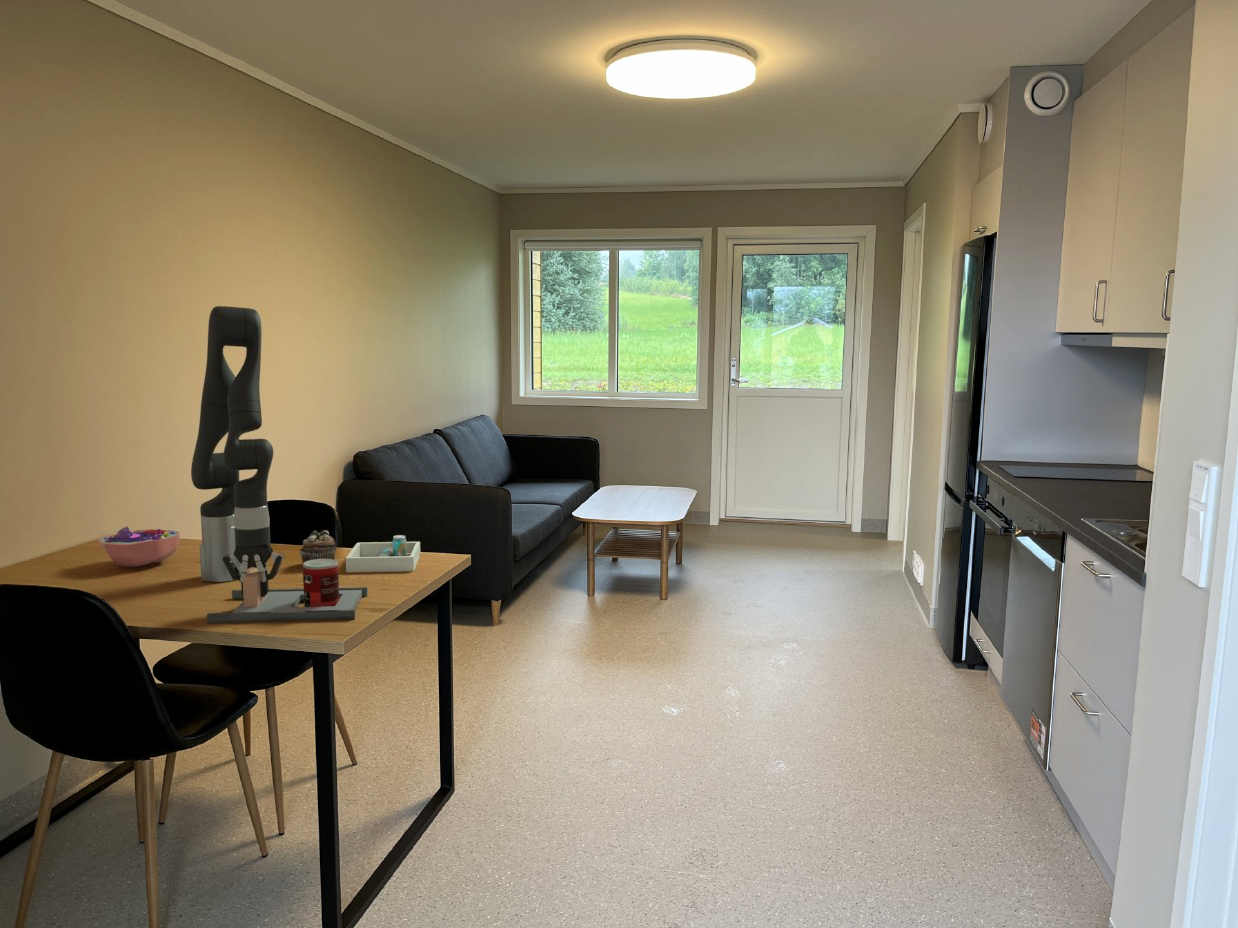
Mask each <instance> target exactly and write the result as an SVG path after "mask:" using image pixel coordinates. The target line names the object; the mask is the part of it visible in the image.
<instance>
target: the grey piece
mask: <svg viewBox="0 0 1238 928" xmlns="http://www.w3.org/2000/svg"><path fill="white" fill-rule="evenodd" d="M260 582H261V578H260V574H259V573H258V569H257V568H254V567H252V568H251V569H250V572H248V573H247V574H246V575H245V576H244V577H243V596H244V599H243V601H242V602H241V603H240V604H239V605H237V607H236V608H235V609H234V610H233V611H232V612H231V613H234V612H275V611H317V610H356V608H357V605H358V604H359V602H360V600H361V599H362V597H363V596H362V590H339V601H338V602H337V604H336V606H326V607H305V606H298V605H299V603H300V602H302V601H303V602H304V591H282V592H268V594H267V595H266V596H265V597H261V590H260Z"/></svg>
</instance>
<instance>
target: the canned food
mask: <svg viewBox="0 0 1238 928" xmlns="http://www.w3.org/2000/svg"><path fill="white" fill-rule="evenodd" d="M339 577H340V576H339V561H338V560H336V559H334V560H333V559H314V560H309V561H306V562H304V563H303V562H302V581H303V583H302V584H303V589H304V601H303V603H304V606H303V607H326V606H336V604H337V602H338V601H339V588H340V587H339V586H340V582H339V579H340V578H339Z"/></svg>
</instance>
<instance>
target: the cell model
mask: <svg viewBox="0 0 1238 928" xmlns="http://www.w3.org/2000/svg"><path fill="white" fill-rule="evenodd" d="M180 536H181V532H180V531H176V530H166V529H161V528H157V529H152V528H151V529H138V530H132V531H130V528H129V526H124V527H122V528H121V529H119V530H118V531H117V532H116V533H115V534H111V535H107V536H104V537H102V538H99V539H98V543H99V544H100V545H101V546H102V548H103V550H104V551H105V553H106V554H107V556H108V557H109V558H110V559H111V560H112V562H113V563H114V564H116V565H117V566H121V567H125V568H126V567H127V568H138V567H142V566H145V565H148V564H157V563H161V562H165V560H168V559H169V558H170V557H171V556H172V555H174V553H175V552H176V551H177V549H178V548H179V542H180V538H181V537H180Z"/></svg>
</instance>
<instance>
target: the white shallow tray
mask: <svg viewBox="0 0 1238 928" xmlns="http://www.w3.org/2000/svg"><path fill="white" fill-rule="evenodd" d="M386 547H391V548H393V541H386V542H385V541H383V542H382V541H381V542H378V541H374V542H372V541H371V542H357V543H356V544H355V545H354V546H353V547H352V549H351V551H350V552H349V553H348V554H347V556H346V557H345V573H385V572H387V573H389V572H390V573H391V572H393V573H394V572H397V573H398V572H414V571H415V570H416V567H417V564H418V562H419V560H420V557H421V541H406V553H411V554H406V555H407V556H394V557H378V555H379V554H380V553H381V552H382V550H383V549H384V548H386ZM377 551H378V552H377ZM419 554H420V555H419Z"/></svg>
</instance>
